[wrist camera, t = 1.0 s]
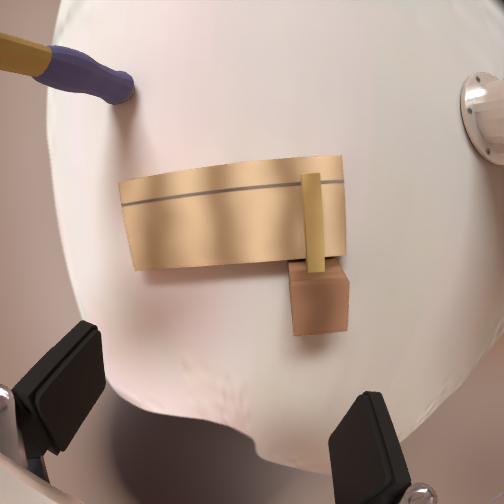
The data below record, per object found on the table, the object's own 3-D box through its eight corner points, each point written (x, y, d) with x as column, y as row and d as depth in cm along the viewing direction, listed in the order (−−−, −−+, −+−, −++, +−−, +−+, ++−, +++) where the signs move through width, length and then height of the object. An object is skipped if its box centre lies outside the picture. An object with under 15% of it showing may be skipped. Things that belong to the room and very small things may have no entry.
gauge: (328, 170, 28) (347, 173, 21) (332, 293, 32) (347, 330, 25) (280, 173, 29) (283, 177, 21) (290, 297, 33) (293, 336, 25)
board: (336, 156, 28) (341, 155, 25) (340, 247, 31) (346, 255, 28) (128, 180, 30) (118, 182, 28) (143, 263, 33) (134, 270, 31)
